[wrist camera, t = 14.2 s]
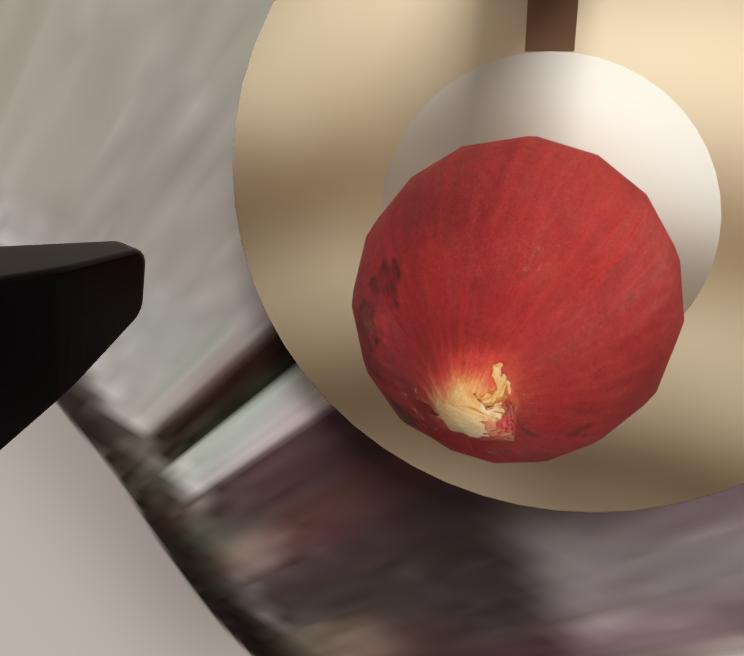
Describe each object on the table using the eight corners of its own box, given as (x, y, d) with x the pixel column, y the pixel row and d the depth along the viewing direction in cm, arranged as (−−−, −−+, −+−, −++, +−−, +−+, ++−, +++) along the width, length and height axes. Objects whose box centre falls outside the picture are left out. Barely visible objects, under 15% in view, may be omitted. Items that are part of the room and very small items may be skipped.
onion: (494, 377, 18) (397, 618, 12) (375, 187, 17) (190, 335, 10) (725, 286, 15) (771, 542, 9) (599, 47, 14) (539, 129, 7)
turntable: (836, 524, 18) (899, 718, 14) (290, 423, 24) (193, 536, 19) (1075, -235, 12) (1376, -398, 7) (234, -138, 17) (60, -189, 12)
